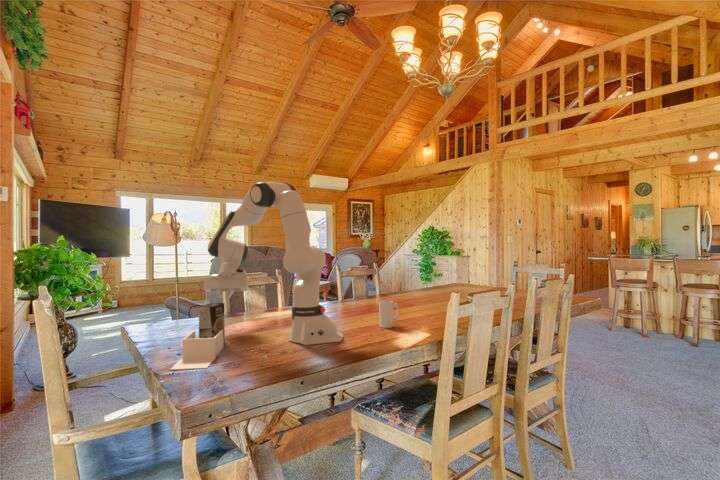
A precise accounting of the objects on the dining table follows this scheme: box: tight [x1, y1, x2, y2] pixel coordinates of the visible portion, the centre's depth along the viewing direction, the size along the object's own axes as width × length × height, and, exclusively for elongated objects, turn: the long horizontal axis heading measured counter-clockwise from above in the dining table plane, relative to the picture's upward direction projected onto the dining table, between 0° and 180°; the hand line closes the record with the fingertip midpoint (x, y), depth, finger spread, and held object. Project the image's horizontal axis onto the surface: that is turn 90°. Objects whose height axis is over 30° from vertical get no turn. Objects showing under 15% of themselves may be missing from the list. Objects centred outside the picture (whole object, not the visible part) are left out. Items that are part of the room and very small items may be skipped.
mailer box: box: [169, 330, 224, 371], centre depth 142 cm, size 12×25×7 cm, turn 7°
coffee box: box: [198, 302, 226, 343], centre depth 160 cm, size 9×6×16 cm
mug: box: [378, 299, 400, 329], centre depth 187 cm, size 10×7×12 cm, turn 105°
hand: (224, 297), depth 182 cm, fingers closed
